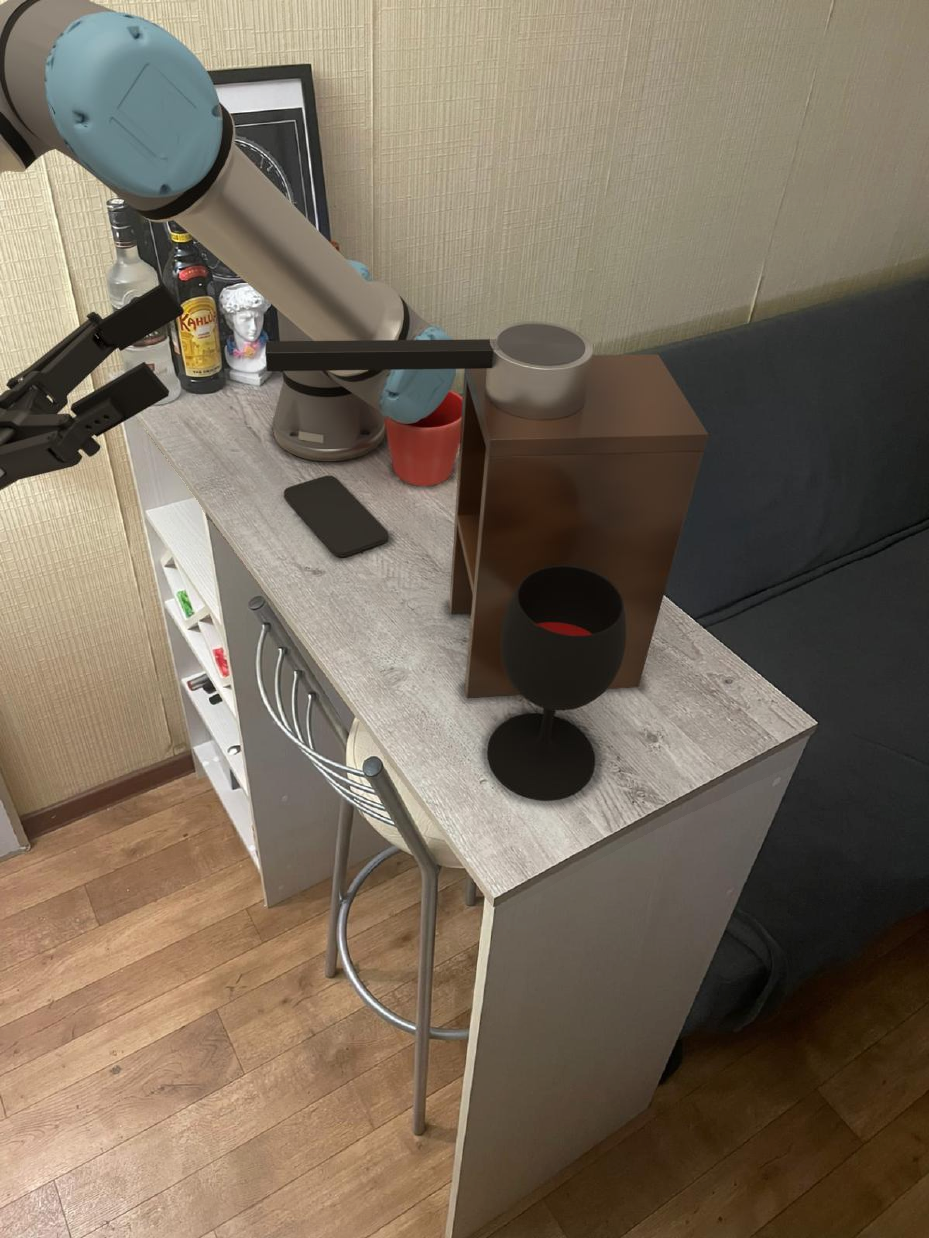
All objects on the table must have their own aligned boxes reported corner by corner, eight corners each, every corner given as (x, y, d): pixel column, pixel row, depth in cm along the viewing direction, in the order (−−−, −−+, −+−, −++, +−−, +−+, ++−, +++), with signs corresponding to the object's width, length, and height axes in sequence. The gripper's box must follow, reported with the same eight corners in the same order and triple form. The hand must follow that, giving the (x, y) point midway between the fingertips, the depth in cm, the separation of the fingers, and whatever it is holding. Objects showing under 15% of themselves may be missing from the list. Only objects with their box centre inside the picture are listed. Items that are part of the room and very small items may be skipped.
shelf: (466, 698, 92) (490, 439, 71) (449, 605, 102) (465, 356, 81) (638, 687, 94) (708, 434, 74) (604, 597, 104) (658, 354, 84)
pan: (269, 426, 71) (264, 372, 68) (271, 373, 77) (266, 321, 74) (595, 419, 75) (605, 367, 71) (572, 369, 81) (580, 320, 78)
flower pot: (479, 478, 121) (485, 413, 114) (410, 502, 116) (411, 436, 109) (435, 440, 127) (438, 377, 120) (367, 462, 122) (366, 397, 115)
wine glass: (589, 811, 82) (630, 655, 69) (477, 788, 83) (495, 630, 70) (600, 726, 90) (638, 570, 76) (497, 706, 91) (516, 549, 77)
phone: (337, 555, 106) (280, 489, 114) (337, 560, 106) (280, 494, 115) (392, 535, 109) (332, 473, 118) (392, 541, 109) (332, 478, 118)
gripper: (22, 415, 86) (206, 306, 82) (-48, 588, 68) (184, 460, 64) (-43, 352, 81) (149, 232, 77) (-136, 520, 63) (108, 376, 59)
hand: (165, 335), depth 70 cm, fingers open, 13 cm apart
